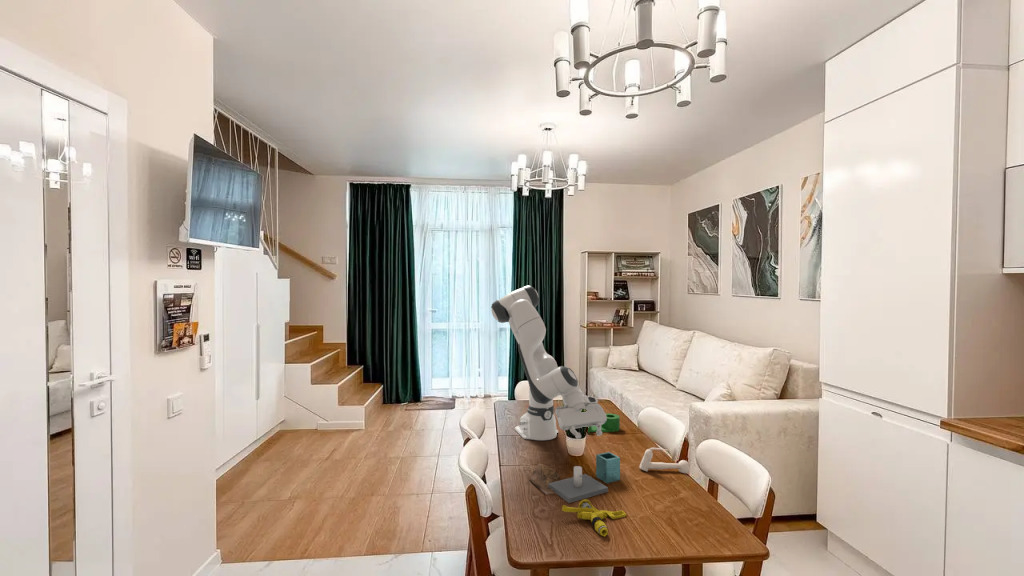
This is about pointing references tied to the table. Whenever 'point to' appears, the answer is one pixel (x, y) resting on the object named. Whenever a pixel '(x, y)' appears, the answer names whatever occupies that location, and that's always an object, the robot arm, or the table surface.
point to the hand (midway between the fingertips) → (589, 436)
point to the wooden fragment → (544, 478)
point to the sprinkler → (594, 515)
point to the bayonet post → (577, 487)
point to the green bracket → (608, 424)
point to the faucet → (661, 463)
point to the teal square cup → (608, 467)
